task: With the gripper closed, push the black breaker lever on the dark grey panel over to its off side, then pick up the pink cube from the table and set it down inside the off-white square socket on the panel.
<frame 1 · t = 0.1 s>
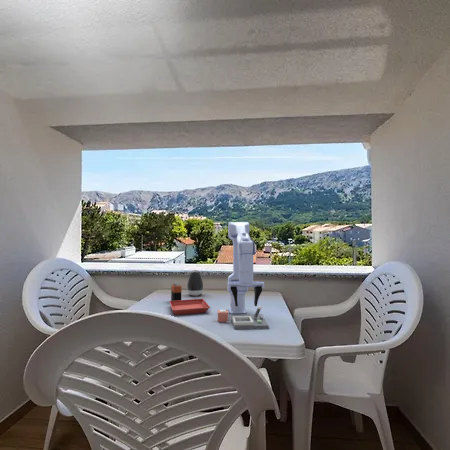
hand: (246, 305, 115), 10 cm above the table, tool pointing down, fingers open, 7 cm apart
pink cube: (222, 320, 129), on the table
dark grey egg shape: (195, 295, 179), on the table
lever: (257, 312, 127), point 4 cm above the table, hinge at -25.0°
panel: (248, 322, 126), on the table
plant saucer: (188, 310, 146), on the table
battery: (176, 301, 162), on the table
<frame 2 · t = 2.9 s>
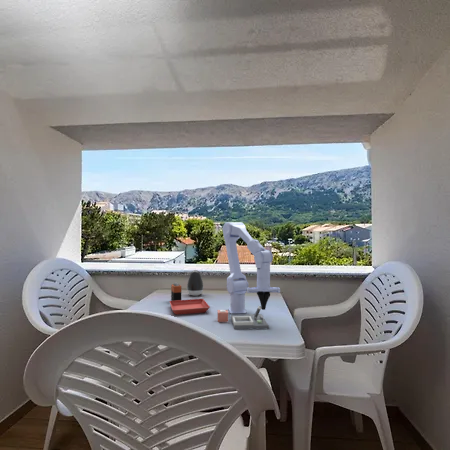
hand: (263, 309, 127), 5 cm above the table, tool pointing down, fingers closed, pressing on lever
lever: (257, 312, 127), point 4 cm above the table, hinge at -25.0°, touching gripper
everything else where it was.
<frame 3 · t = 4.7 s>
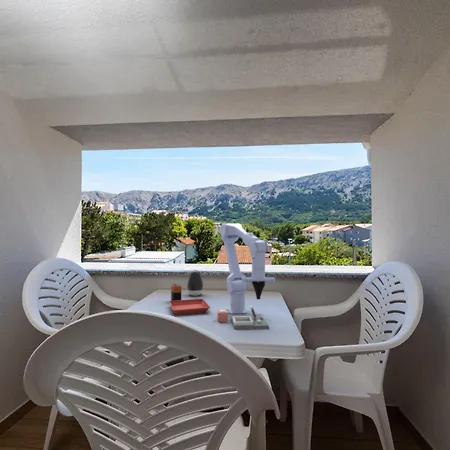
hand: (258, 298, 127), 10 cm above the table, tool pointing down, fingers closed
lever: (253, 312, 127), point 4 cm above the table, hinge at 19.7°
everything else where it was.
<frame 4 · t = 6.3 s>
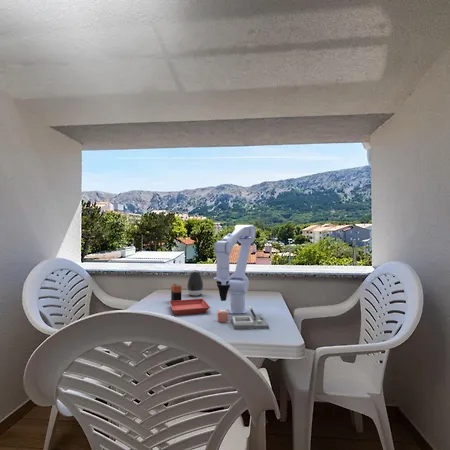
hand: (222, 298, 129), 10 cm above the table, tool pointing down, fingers open, 7 cm apart
lever: (252, 312, 127), point 4 cm above the table, hinge at 26.3°
everything else where it was.
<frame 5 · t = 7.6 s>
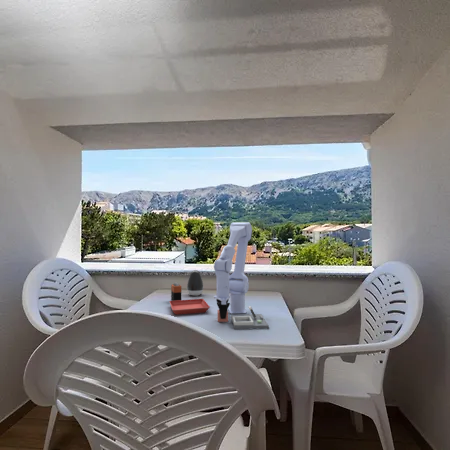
hand: (222, 316, 129), 1 cm above the table, tool pointing down, fingers closed on pink cube, 4 cm apart
pink cube: (222, 320, 129), on the table, touching gripper
lever: (252, 312, 127), point 4 cm above the table, hinge at 27.3°
everything else where it was.
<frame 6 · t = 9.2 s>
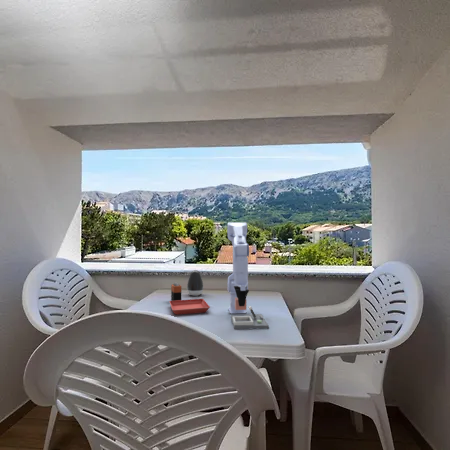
hand: (241, 304, 123), 8 cm above the table, tool pointing down, fingers closed on pink cube, 4 cm apart
pink cube: (240, 308, 123), point 7 cm above the table, touching gripper
everything else where it was.
when the fingers open (3 cm above the table, at t = 10.7 s): pink cube stays where it is, resting on panel.
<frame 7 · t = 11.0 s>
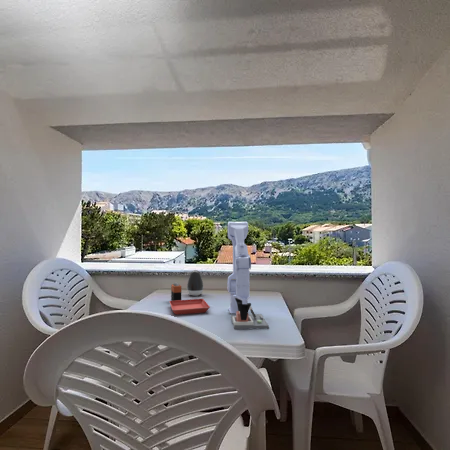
hand: (242, 317, 123), 3 cm above the table, tool pointing down, fingers open, 7 cm apart
pink cube: (242, 322, 123), point 1 cm above the table, touching panel
everything else where it was.
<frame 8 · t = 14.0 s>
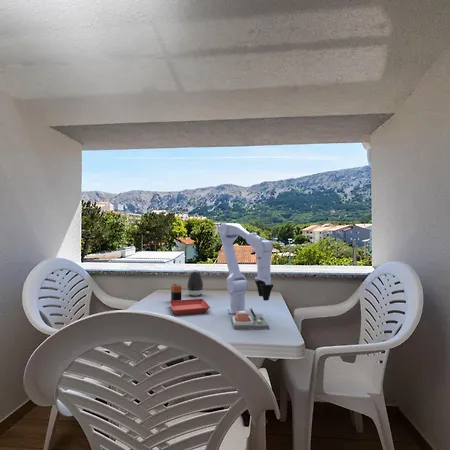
hand: (263, 298, 128), 10 cm above the table, tool pointing down, fingers open, 7 cm apart
nothing on the table moved.
at the end: lever at +28° (first picture: -25°); pink cube 0.2 cm from the target spot on the panel, point 1.2 cm above the panel's base; pink cube tilted 0° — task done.
